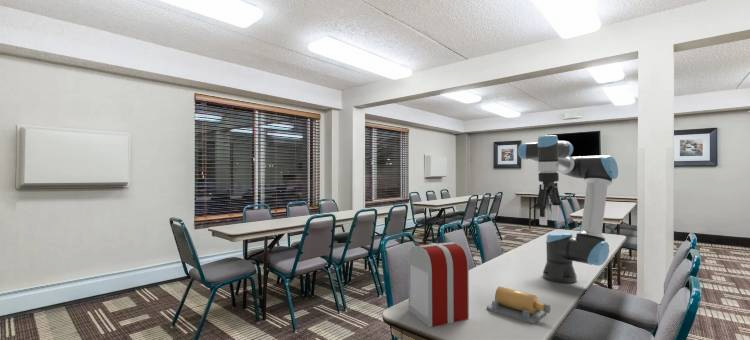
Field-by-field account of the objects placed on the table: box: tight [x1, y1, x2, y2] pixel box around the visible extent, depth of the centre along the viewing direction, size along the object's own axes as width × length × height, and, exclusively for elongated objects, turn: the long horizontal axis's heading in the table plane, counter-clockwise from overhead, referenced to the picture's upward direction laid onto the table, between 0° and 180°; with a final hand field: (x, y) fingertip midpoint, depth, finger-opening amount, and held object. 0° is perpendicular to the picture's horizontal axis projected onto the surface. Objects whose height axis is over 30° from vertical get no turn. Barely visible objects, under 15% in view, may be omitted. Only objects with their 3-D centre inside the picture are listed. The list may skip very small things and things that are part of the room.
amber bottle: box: [494, 286, 552, 315], centre depth 129 cm, size 19×7×7 cm, turn 43°
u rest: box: [486, 300, 548, 325], centre depth 131 cm, size 18×13×4 cm
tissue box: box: [407, 241, 470, 328], centre depth 129 cm, size 16×18×27 cm
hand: (549, 222), depth 141 cm, fingers open, 13 cm apart
